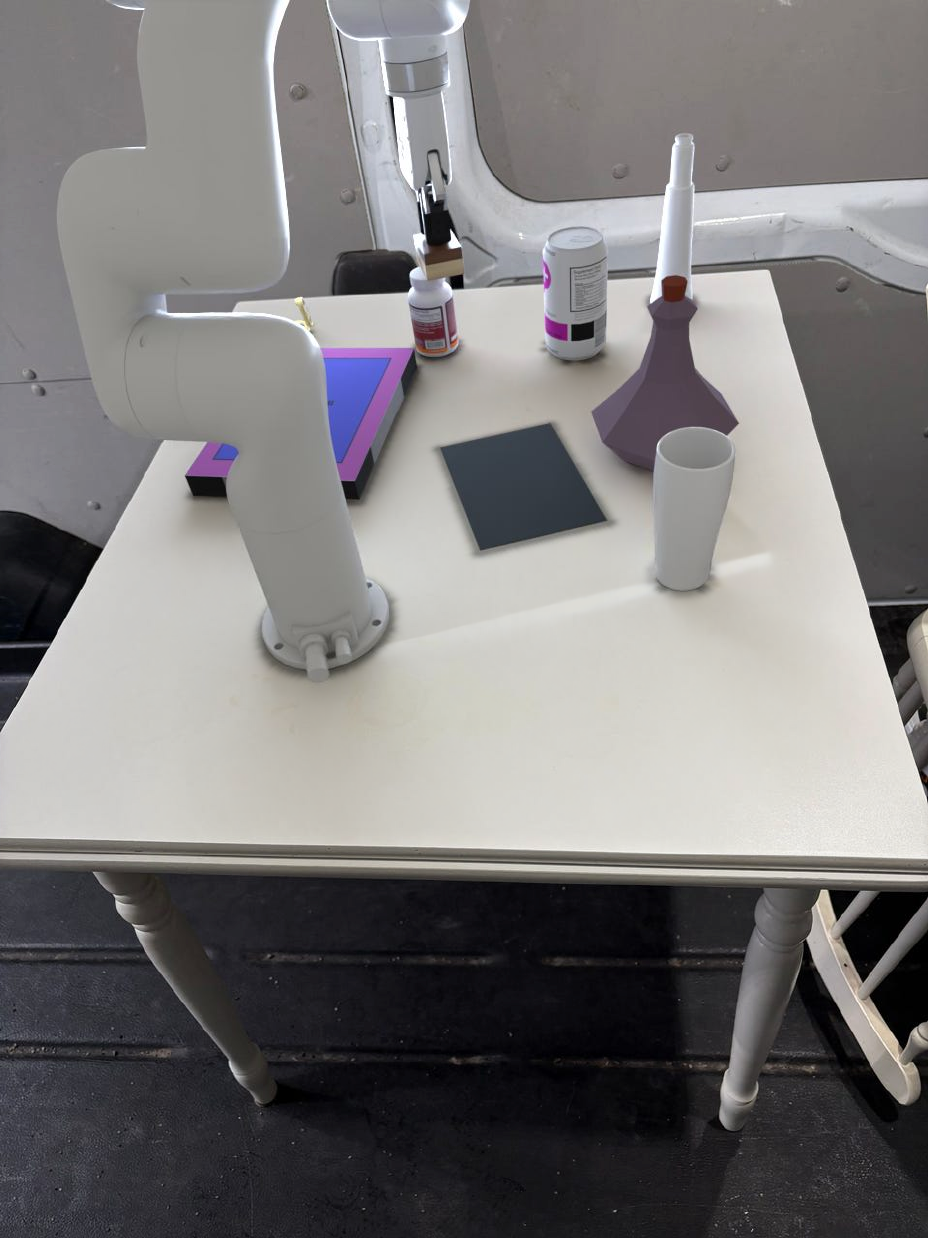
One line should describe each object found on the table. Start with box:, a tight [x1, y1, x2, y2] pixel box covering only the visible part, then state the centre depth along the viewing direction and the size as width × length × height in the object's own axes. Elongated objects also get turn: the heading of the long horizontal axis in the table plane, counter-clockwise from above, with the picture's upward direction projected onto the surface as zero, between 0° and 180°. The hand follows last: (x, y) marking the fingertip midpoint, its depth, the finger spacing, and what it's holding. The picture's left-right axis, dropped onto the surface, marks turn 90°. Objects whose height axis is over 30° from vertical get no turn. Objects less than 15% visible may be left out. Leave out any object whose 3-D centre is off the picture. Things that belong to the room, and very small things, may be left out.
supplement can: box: [542, 225, 609, 361], centre depth 110 cm, size 8×8×15 cm
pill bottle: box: [407, 266, 459, 358], centre depth 115 cm, size 6×6×11 cm
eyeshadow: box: [293, 296, 314, 332], centre depth 126 cm, size 4×5×5 cm
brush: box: [413, 191, 465, 281], centre depth 108 cm, size 7×5×10 cm
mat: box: [439, 422, 608, 551], centre depth 95 cm, size 20×14×1 cm
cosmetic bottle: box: [649, 132, 696, 304], centre depth 114 cm, size 6×6×22 cm
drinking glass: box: [652, 427, 737, 592], centre depth 77 cm, size 7×7×15 cm
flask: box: [590, 275, 740, 473], centre depth 90 cm, size 16×16×20 cm
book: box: [184, 347, 418, 501], centre depth 107 cm, size 21×3×30 cm
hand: (435, 235), depth 109 cm, fingers closed on brush, 3 cm apart
